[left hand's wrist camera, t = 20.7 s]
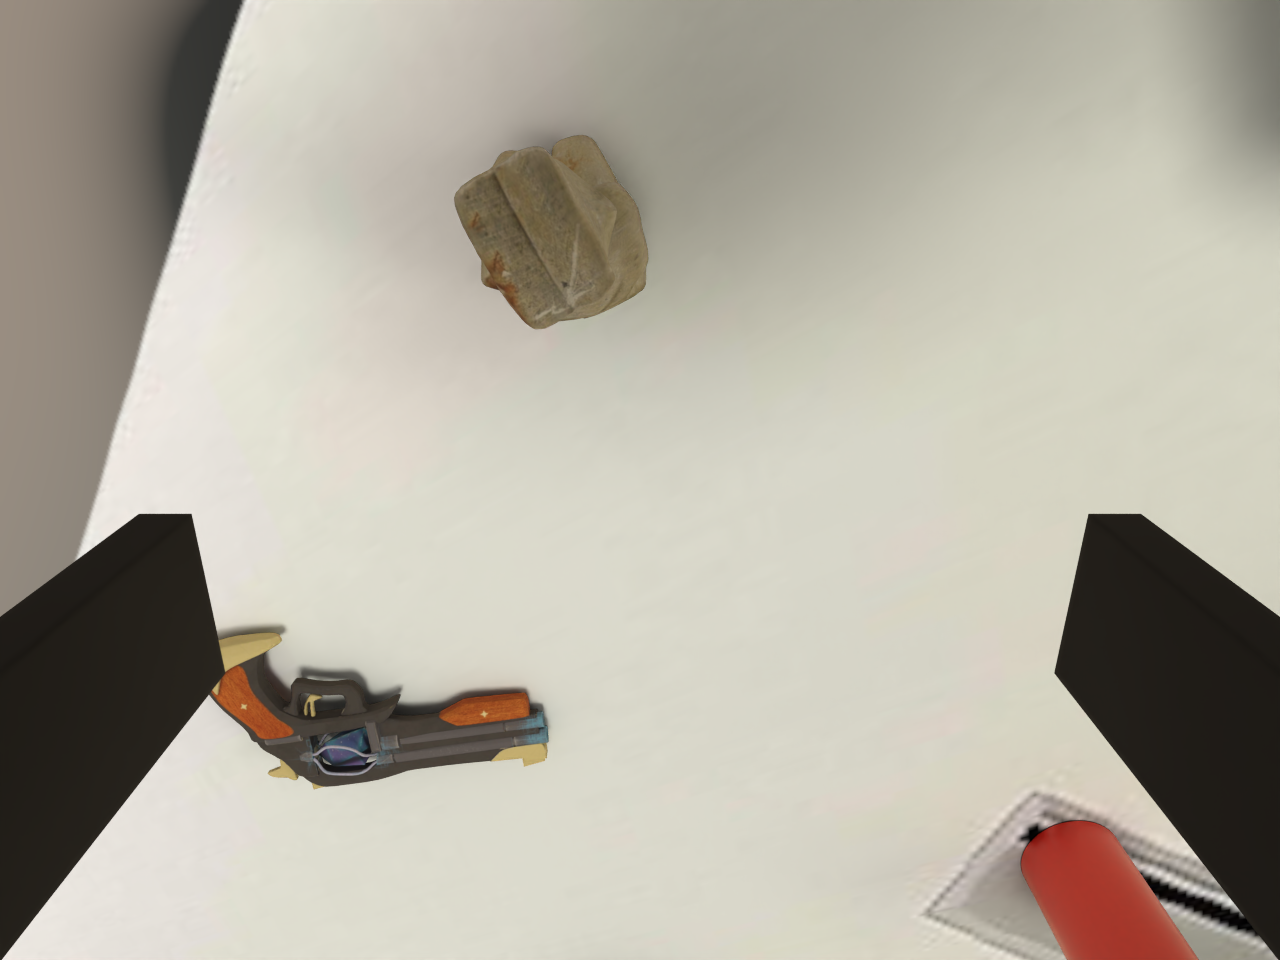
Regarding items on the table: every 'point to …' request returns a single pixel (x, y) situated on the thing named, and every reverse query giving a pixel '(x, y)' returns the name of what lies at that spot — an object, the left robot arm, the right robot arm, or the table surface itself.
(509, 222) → the sculpture
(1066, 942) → the canister
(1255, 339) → the table surface
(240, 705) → the toy gun
